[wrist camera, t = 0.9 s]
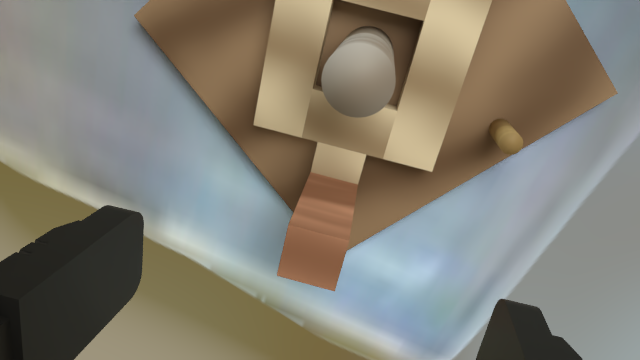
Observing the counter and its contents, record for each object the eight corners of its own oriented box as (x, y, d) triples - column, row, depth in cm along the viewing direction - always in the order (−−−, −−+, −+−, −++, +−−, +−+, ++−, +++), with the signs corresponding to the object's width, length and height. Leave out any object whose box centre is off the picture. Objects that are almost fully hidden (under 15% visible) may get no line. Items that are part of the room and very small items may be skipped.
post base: (143, 14, 30) (29, 27, 20) (419, -246, 23) (440, -405, 14) (333, 250, 34) (312, 350, 25) (608, 88, 28) (721, 141, 18)
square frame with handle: (293, -76, 25) (253, -102, 18) (496, -26, 25) (543, -31, 17) (245, 190, 32) (200, 254, 24) (406, 233, 31) (412, 312, 24)
